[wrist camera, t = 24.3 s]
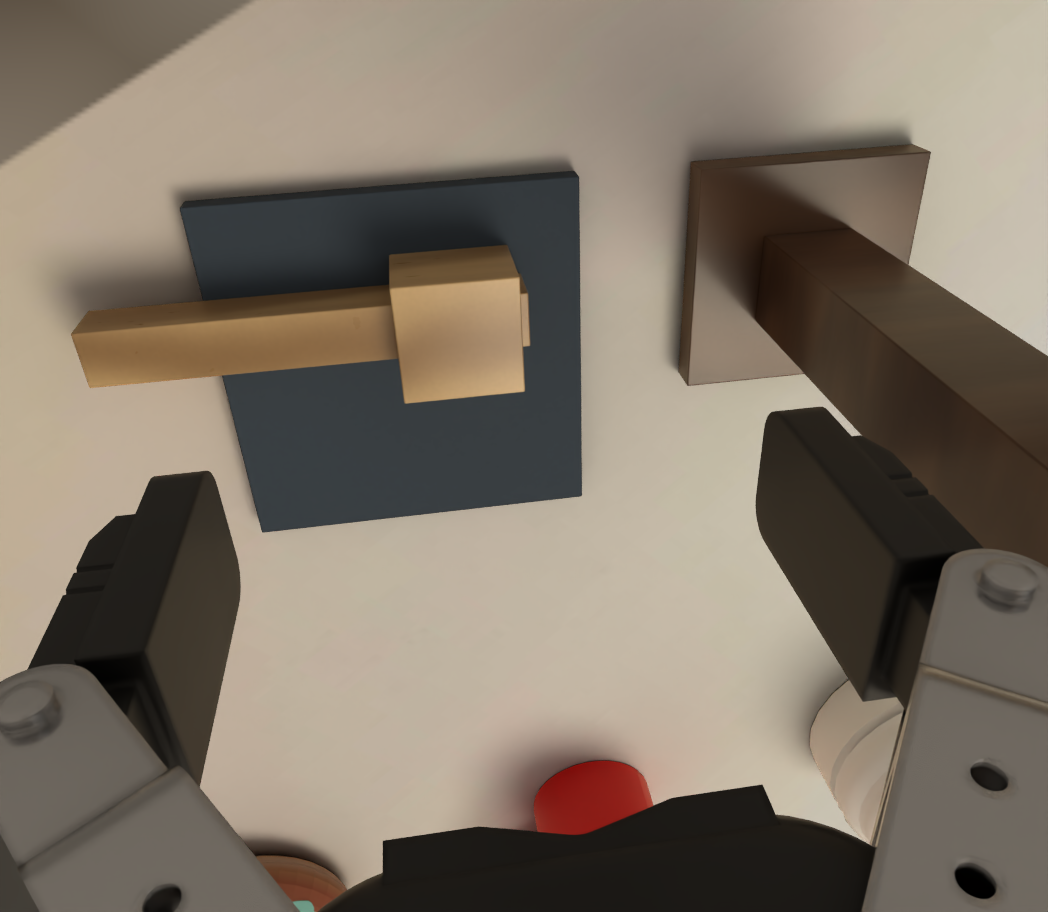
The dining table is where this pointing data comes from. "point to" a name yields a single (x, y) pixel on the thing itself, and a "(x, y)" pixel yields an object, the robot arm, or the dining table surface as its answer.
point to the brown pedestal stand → (866, 327)
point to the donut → (303, 881)
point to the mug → (590, 797)
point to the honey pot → (855, 752)
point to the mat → (375, 386)
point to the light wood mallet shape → (335, 330)
